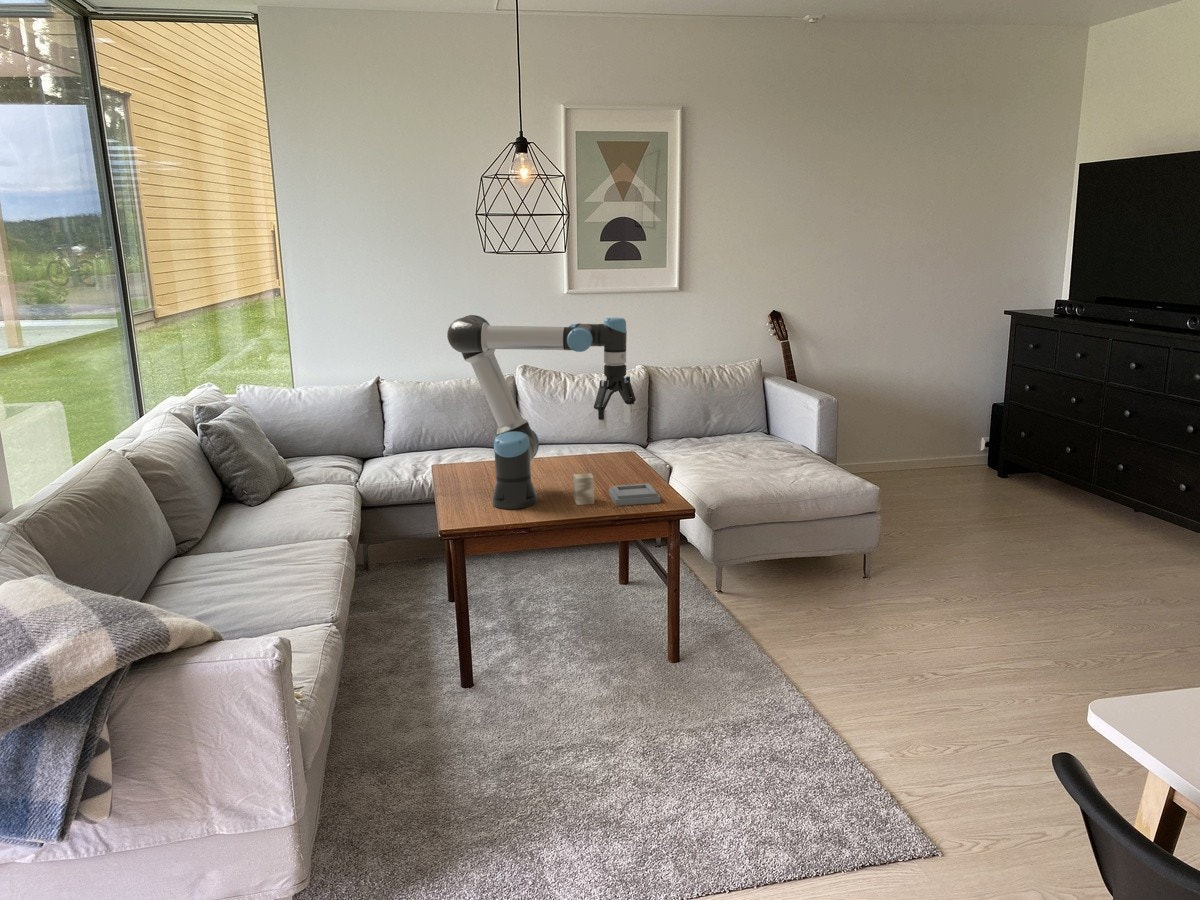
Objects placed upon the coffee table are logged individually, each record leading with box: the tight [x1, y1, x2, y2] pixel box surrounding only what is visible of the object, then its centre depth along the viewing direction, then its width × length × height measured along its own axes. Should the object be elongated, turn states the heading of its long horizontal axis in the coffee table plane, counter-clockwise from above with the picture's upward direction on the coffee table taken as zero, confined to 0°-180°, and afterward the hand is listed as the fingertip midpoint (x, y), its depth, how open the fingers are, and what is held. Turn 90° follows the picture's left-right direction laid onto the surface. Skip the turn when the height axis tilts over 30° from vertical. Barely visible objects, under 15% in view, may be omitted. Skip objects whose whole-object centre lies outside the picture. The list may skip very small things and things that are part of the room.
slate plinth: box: [608, 483, 662, 507], centre depth 296 cm, size 15×15×3 cm
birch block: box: [573, 472, 595, 506], centre depth 293 cm, size 6×6×9 cm
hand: (615, 426), depth 300 cm, fingers open, 13 cm apart
